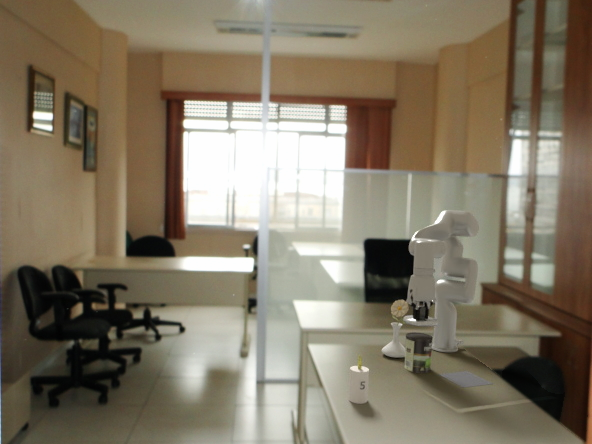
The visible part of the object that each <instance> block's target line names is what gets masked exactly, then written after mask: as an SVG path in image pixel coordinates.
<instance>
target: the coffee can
mask: <svg viewBox="0 0 592 444" xmlns="http://www.w3.org/2000/svg"><path fill="white" fill-rule="evenodd" d="M432 343H433V336H432V335H430V334H428V333H424V332H413V331H412V332H407V333H406V334H405V346H404V347H405V357H404V363H403V364H404V366H403V367H404V369H405V370H407V371H408V372H412V373H417V374H427V373H429V372H431V367H432V366H431V365H432V363H431V362H432V351H433V349H432Z"/></svg>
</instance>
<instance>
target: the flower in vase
mask: <svg viewBox="0 0 592 444" xmlns="http://www.w3.org/2000/svg"><path fill="white" fill-rule="evenodd" d="M409 310H410V309H409V304H408V303H407V302H406V300H404V299H398V300H395V301H394V302H393V303H392V305H391V307H390V311H391V313H390V314H391V316H392V317H391V318H393V319H394V320H396V321H397V322H391V323H390V325H391V327H392V333H393V334H392V335H393V336H392V337H393V338H392V340H391V341H390V342H389V343H388V344H386V345H384V347H382V349H381V352H382V354H383V355H384V356H387V357H391V358H399V359H400V358H405V346H404V345H403V344H402V343H401V342H400V340H399V336H400V330H401V327H403V325H405V324H406V325H407V323H405V322H404V321H403V318H404V317H405V316H406V314H407V313H408V311H409ZM398 318H400V320H399V319H398Z"/></svg>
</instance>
